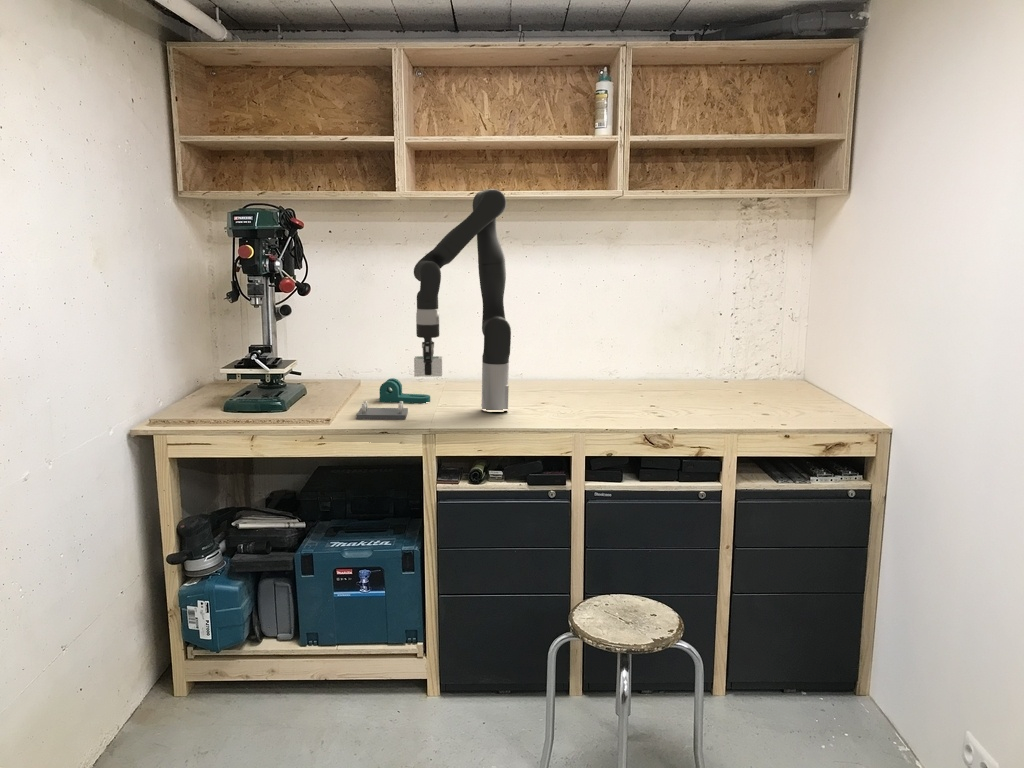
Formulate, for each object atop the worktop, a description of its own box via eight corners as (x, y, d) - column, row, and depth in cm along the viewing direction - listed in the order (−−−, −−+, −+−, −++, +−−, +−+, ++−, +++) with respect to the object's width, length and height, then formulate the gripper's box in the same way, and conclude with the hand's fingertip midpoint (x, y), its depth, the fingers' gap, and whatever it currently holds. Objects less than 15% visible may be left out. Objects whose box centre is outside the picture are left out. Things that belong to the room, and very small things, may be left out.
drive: (442, 373, 231) (442, 355, 230) (441, 376, 226) (441, 358, 225) (415, 374, 230) (415, 355, 229) (414, 376, 226) (414, 358, 225)
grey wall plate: (408, 412, 236) (407, 399, 235) (405, 419, 226) (405, 406, 225) (360, 411, 234) (360, 399, 234) (356, 419, 225) (356, 405, 224)
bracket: (379, 402, 250) (379, 381, 248) (384, 398, 257) (384, 377, 255) (428, 404, 249) (428, 383, 247) (431, 400, 255) (431, 379, 254)
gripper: (438, 325, 218) (439, 377, 222) (439, 320, 232) (440, 369, 236) (414, 325, 218) (415, 377, 221) (417, 320, 232) (418, 369, 235)
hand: (428, 373), depth 228 cm, fingers closed on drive, 4 cm apart
